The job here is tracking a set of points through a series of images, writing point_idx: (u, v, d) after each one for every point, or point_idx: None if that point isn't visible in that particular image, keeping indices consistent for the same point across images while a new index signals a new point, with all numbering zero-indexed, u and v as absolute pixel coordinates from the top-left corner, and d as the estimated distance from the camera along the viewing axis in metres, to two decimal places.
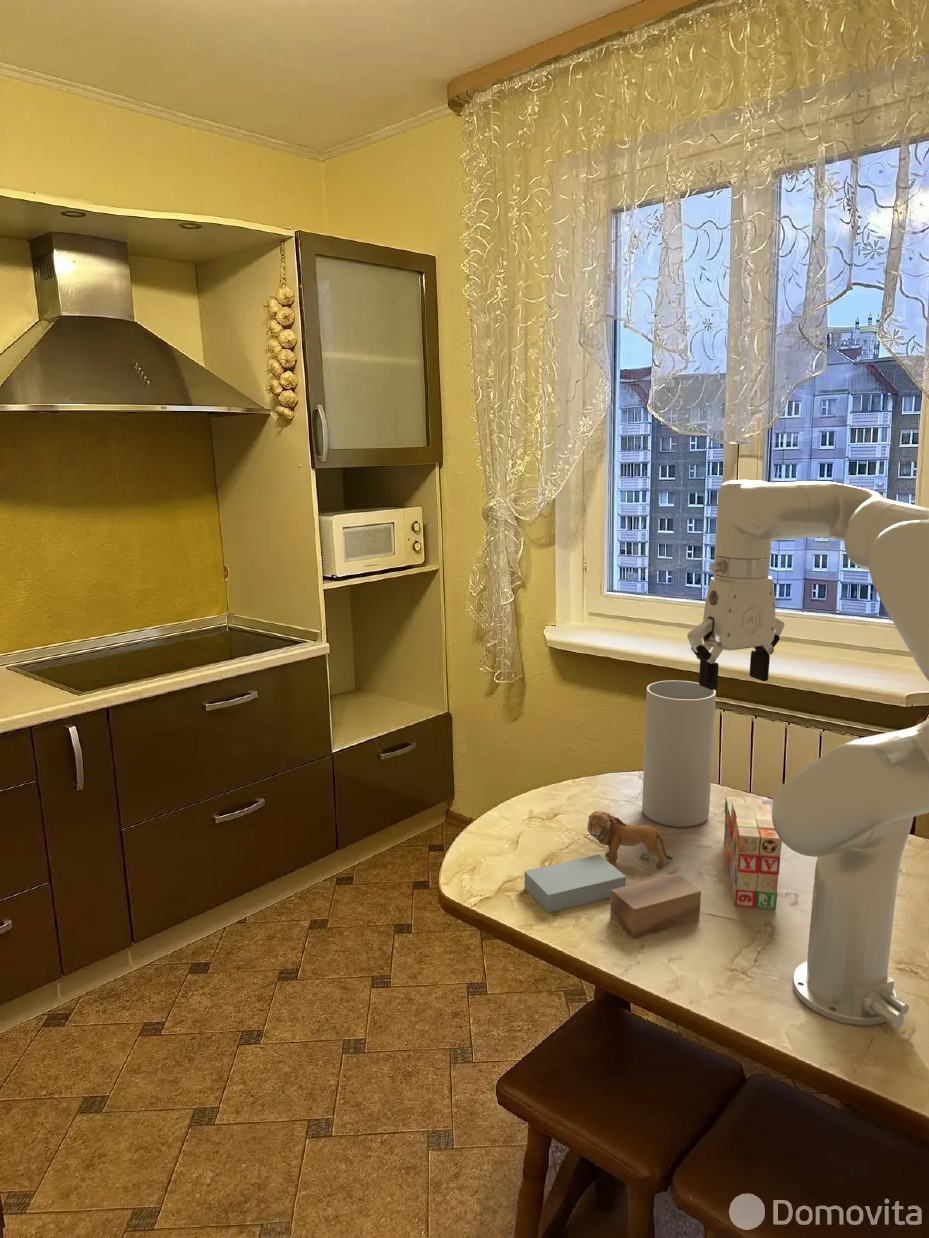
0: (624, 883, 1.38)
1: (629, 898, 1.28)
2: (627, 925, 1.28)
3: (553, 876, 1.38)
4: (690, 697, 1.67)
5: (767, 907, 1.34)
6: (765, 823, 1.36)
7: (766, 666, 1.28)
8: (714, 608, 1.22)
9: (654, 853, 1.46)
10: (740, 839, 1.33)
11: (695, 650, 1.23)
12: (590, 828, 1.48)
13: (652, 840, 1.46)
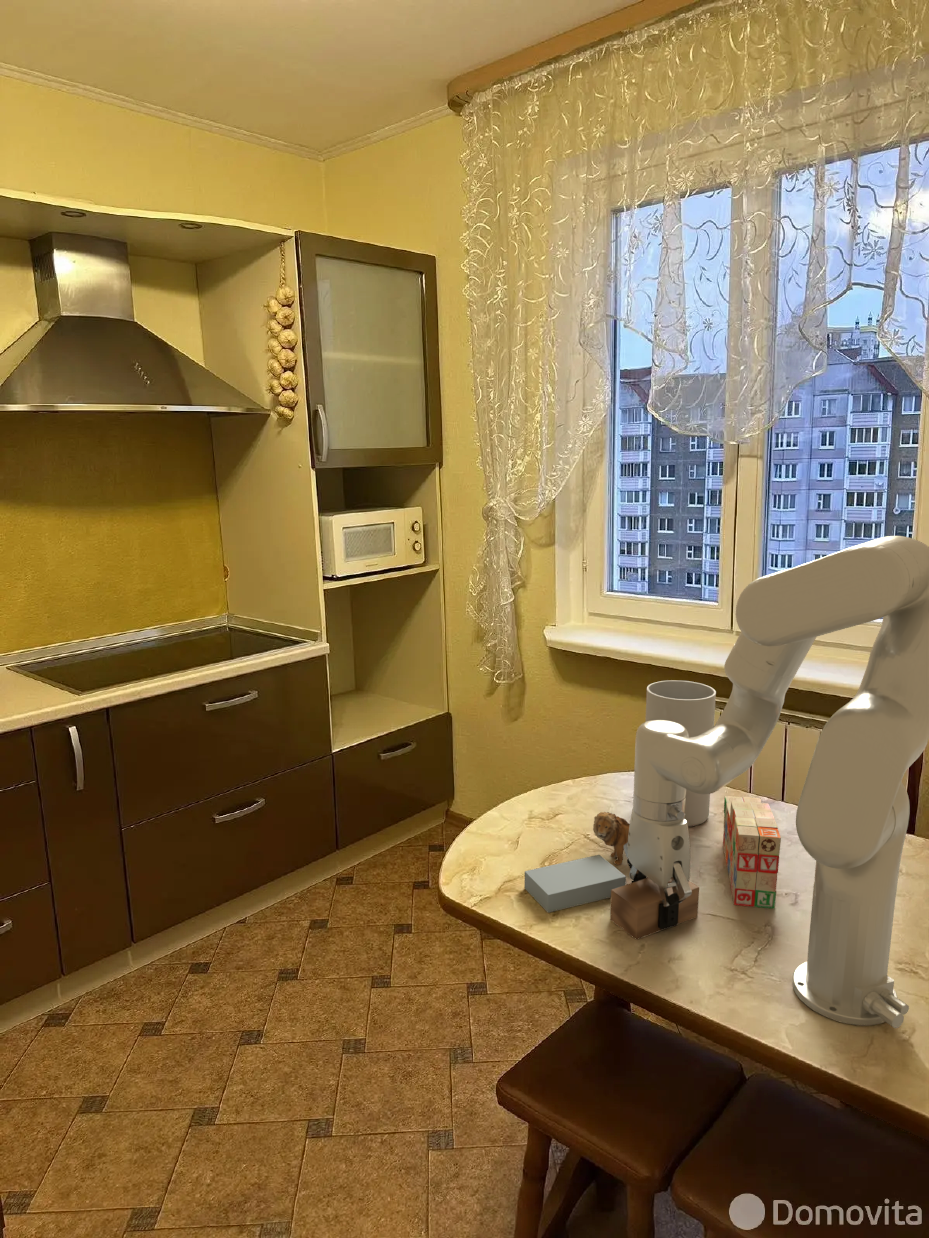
0: (624, 883, 1.38)
1: (630, 897, 1.28)
2: (630, 925, 1.27)
3: (553, 876, 1.38)
4: (690, 697, 1.67)
5: (766, 906, 1.34)
6: (764, 822, 1.36)
7: None
8: (680, 851, 1.25)
9: None
10: (739, 838, 1.33)
11: (681, 900, 1.25)
12: (596, 829, 1.48)
13: None
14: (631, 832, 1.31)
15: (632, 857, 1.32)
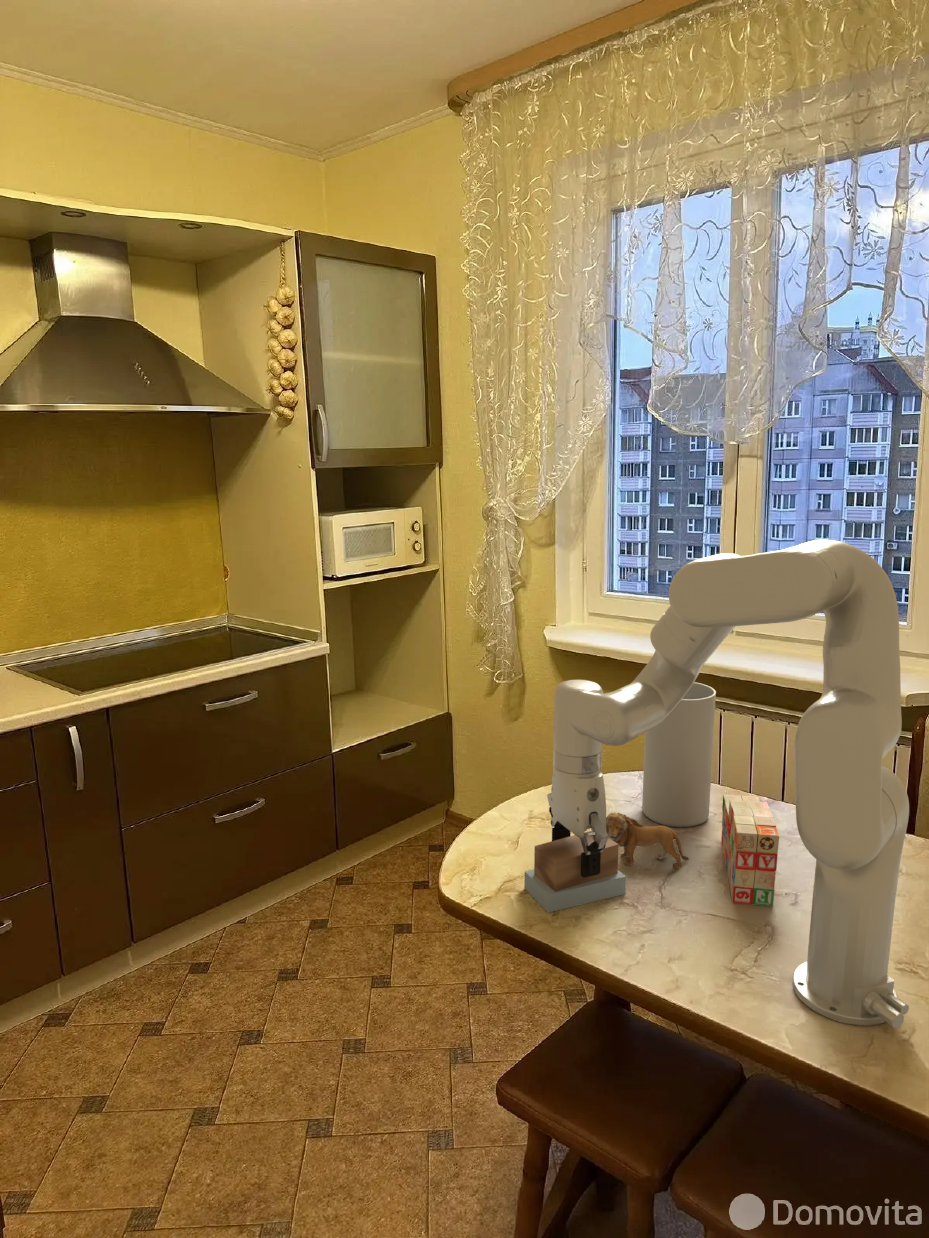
0: (624, 883, 1.38)
1: (551, 852, 1.36)
2: (550, 878, 1.35)
3: None
4: (690, 697, 1.67)
5: (764, 904, 1.35)
6: (762, 820, 1.37)
7: (570, 834, 1.43)
8: (596, 803, 1.32)
9: (671, 854, 1.46)
10: (738, 836, 1.33)
11: (601, 847, 1.31)
12: (606, 830, 1.47)
13: (669, 841, 1.46)
14: (553, 787, 1.38)
15: (554, 811, 1.39)
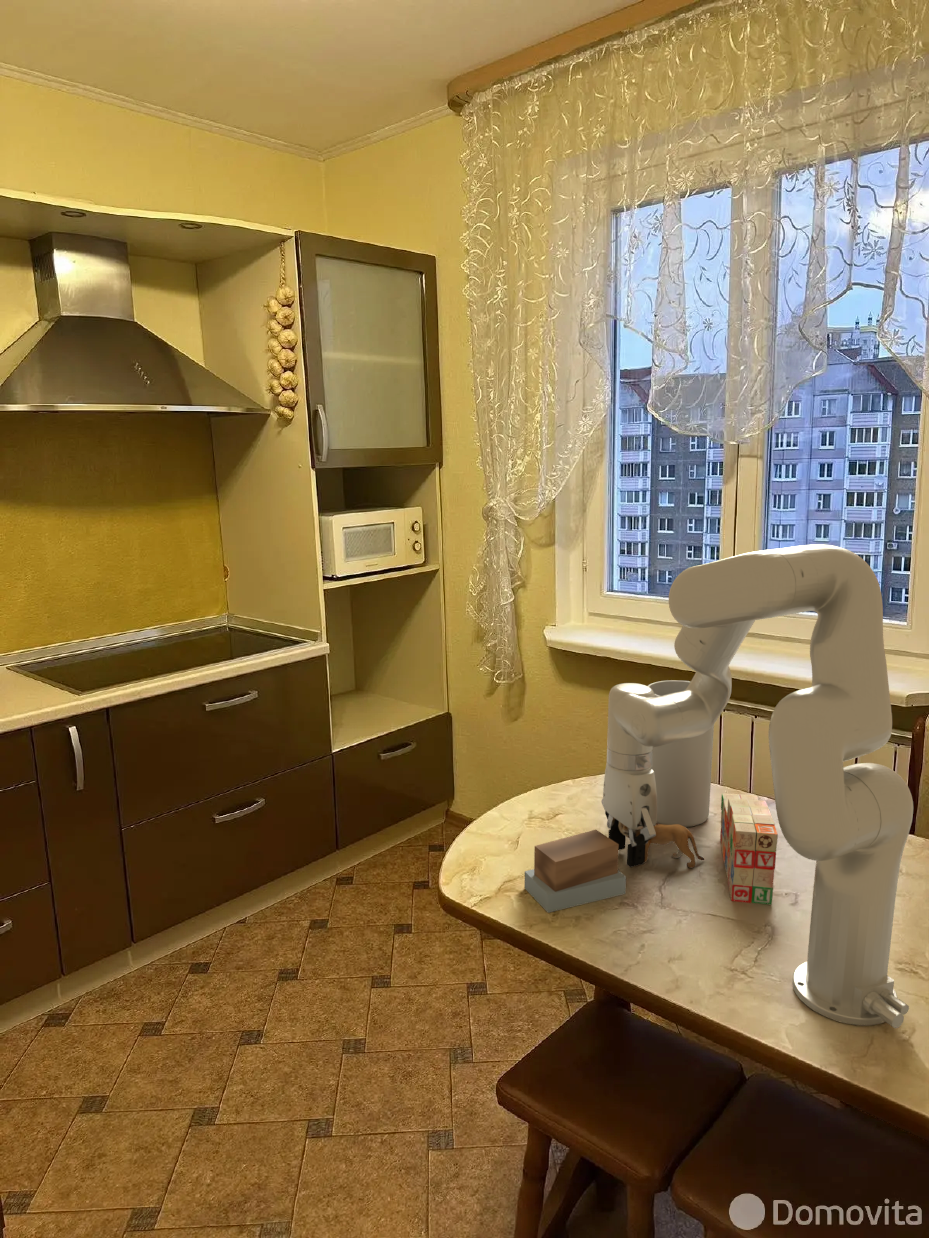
0: (624, 883, 1.38)
1: (551, 852, 1.36)
2: (550, 878, 1.35)
3: None
4: None
5: (763, 902, 1.36)
6: (761, 819, 1.37)
7: (625, 836, 1.52)
8: (648, 797, 1.42)
9: (685, 853, 1.47)
10: (736, 835, 1.34)
11: (646, 840, 1.43)
12: (621, 826, 1.49)
13: (683, 840, 1.46)
14: (606, 783, 1.49)
15: (607, 805, 1.49)
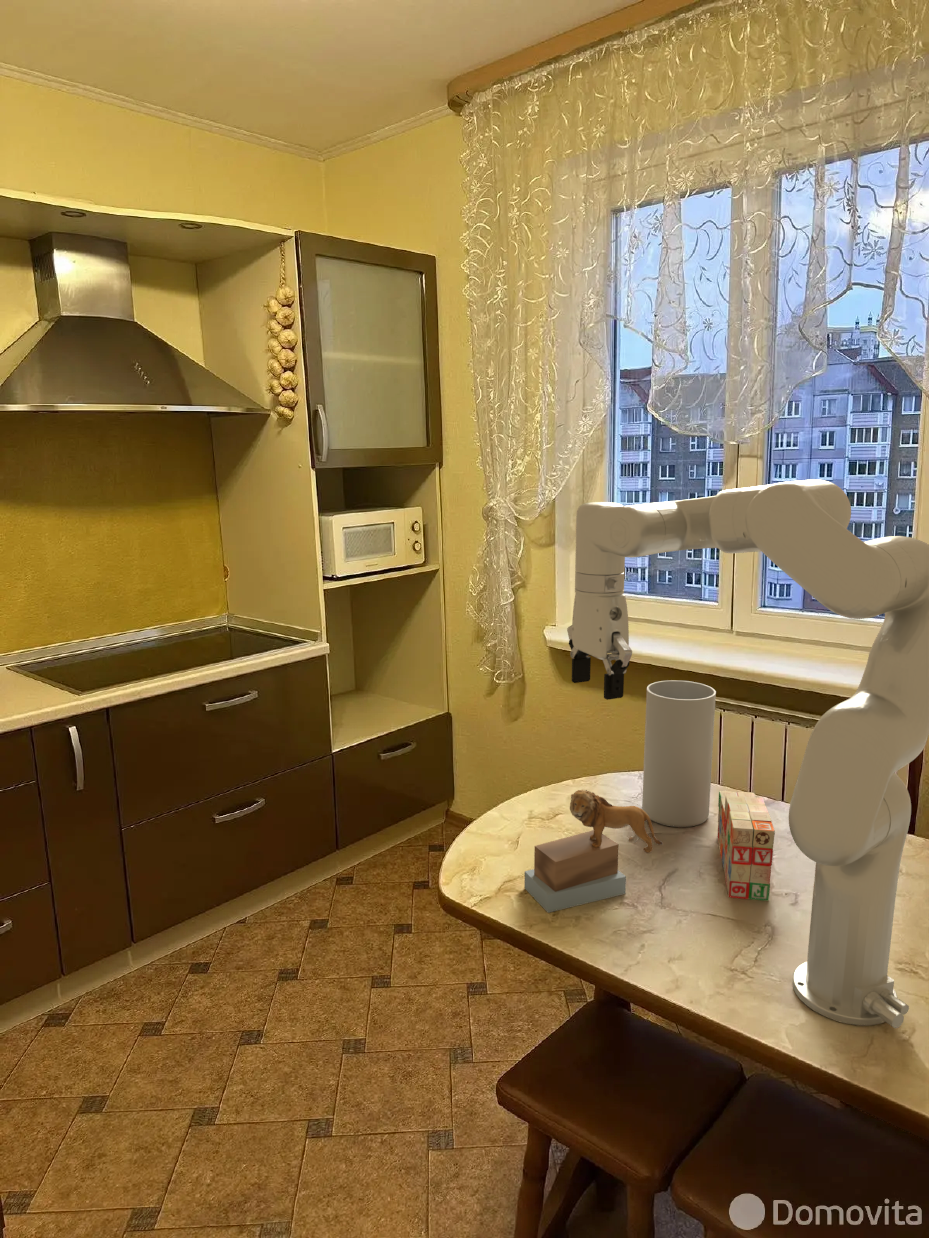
0: (624, 883, 1.38)
1: (551, 852, 1.36)
2: (550, 878, 1.35)
3: None
4: (690, 697, 1.67)
5: (760, 898, 1.37)
6: (758, 816, 1.38)
7: None
8: (618, 622, 1.31)
9: (641, 836, 1.35)
10: (734, 831, 1.35)
11: (625, 665, 1.29)
12: (572, 808, 1.37)
13: (639, 822, 1.35)
14: (574, 615, 1.37)
15: (576, 640, 1.38)
